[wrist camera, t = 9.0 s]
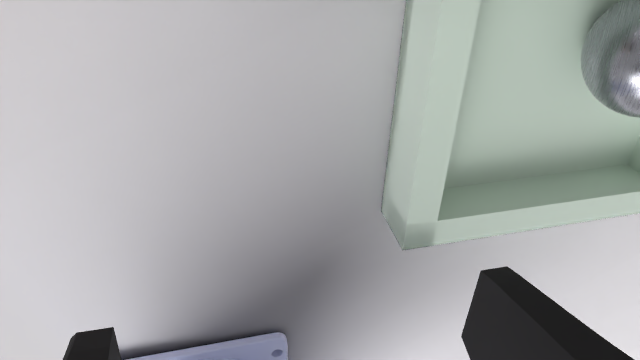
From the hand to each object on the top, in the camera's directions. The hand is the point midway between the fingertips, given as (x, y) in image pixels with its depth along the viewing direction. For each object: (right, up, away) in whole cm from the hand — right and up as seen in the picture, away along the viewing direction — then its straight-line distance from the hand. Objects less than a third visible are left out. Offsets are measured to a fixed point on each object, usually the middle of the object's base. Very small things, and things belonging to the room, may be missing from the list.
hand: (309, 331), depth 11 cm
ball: (+9, +8, +8) cm, 14 cm away
